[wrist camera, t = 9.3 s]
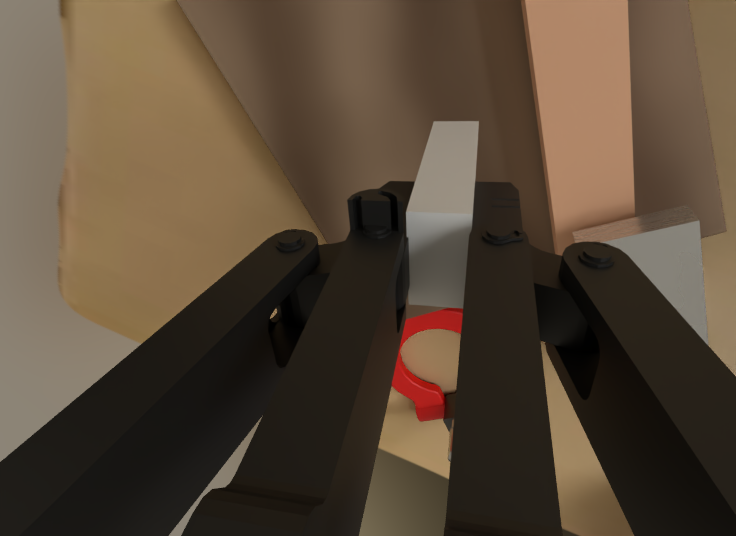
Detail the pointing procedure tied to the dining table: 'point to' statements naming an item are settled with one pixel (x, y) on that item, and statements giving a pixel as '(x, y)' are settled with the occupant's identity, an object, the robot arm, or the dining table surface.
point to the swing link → (582, 110)
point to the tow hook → (421, 392)
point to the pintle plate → (445, 99)
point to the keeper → (663, 256)
